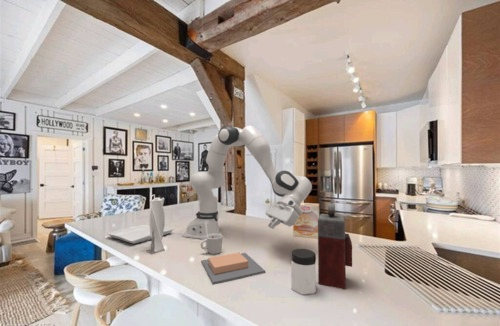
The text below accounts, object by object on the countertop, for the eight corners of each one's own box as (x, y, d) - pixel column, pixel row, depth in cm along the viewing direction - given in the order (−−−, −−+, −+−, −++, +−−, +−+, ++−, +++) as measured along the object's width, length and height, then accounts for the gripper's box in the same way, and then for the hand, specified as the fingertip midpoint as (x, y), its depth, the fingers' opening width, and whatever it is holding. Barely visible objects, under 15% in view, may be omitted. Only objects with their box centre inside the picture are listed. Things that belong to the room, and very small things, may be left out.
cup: (203, 257, 100) (203, 240, 100) (198, 251, 107) (198, 235, 107) (225, 253, 105) (225, 236, 105) (219, 248, 112) (219, 232, 112)
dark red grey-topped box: (353, 291, 73) (352, 207, 74) (318, 284, 77) (317, 205, 78) (352, 278, 81) (351, 203, 82) (320, 272, 86) (319, 201, 86)
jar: (296, 296, 70) (296, 258, 70) (286, 283, 78) (286, 249, 78) (321, 292, 72) (321, 256, 72) (309, 280, 80) (309, 247, 80)
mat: (201, 262, 95) (201, 260, 95) (245, 254, 104) (245, 252, 104) (213, 284, 77) (212, 282, 77) (265, 272, 86) (265, 270, 86)
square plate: (174, 234, 137) (174, 228, 137) (131, 248, 114) (131, 240, 114) (149, 228, 151) (149, 222, 151) (106, 239, 128) (106, 232, 128)
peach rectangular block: (239, 258, 97) (208, 264, 92) (239, 252, 97) (208, 257, 92) (248, 267, 88) (214, 274, 82) (248, 261, 88) (214, 267, 83)
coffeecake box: (293, 236, 132) (292, 203, 132) (294, 232, 138) (294, 202, 139) (319, 239, 126) (318, 205, 127) (319, 235, 133) (319, 203, 133)
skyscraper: (144, 250, 110) (145, 194, 111) (160, 246, 116) (160, 193, 116) (151, 255, 104) (152, 196, 105) (167, 250, 110) (168, 194, 111)
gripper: (273, 197, 114) (256, 217, 110) (297, 204, 95) (277, 228, 91) (280, 205, 115) (263, 225, 111) (305, 213, 97) (286, 238, 93)
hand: (270, 227), depth 101 cm, fingers closed
